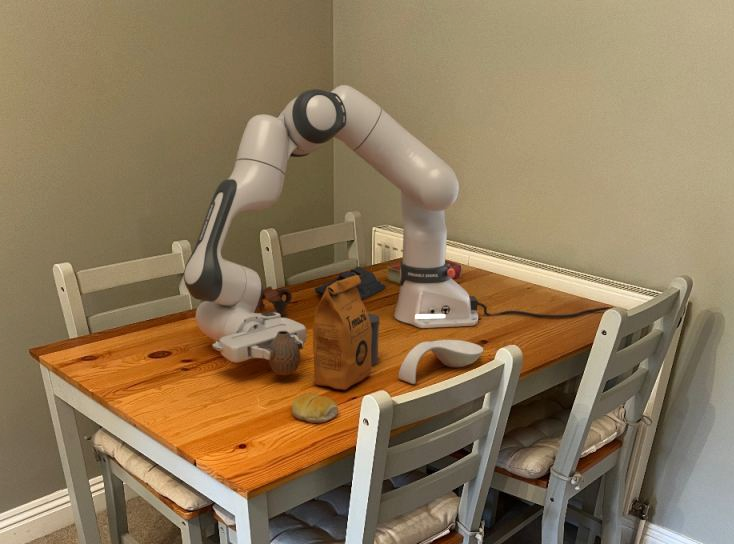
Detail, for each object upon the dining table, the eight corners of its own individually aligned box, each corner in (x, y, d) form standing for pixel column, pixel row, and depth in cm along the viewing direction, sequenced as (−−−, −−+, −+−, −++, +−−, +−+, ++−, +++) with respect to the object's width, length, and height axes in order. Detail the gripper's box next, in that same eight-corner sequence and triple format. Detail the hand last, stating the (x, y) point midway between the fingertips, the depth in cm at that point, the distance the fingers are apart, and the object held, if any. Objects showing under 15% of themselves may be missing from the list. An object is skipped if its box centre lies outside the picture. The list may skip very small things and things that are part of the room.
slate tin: (378, 355, 175) (379, 313, 169) (378, 367, 168) (379, 323, 163) (347, 355, 175) (347, 312, 169) (346, 367, 168) (346, 323, 163)
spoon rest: (451, 349, 179) (454, 320, 175) (491, 362, 172) (495, 332, 168) (386, 376, 164) (387, 345, 160) (427, 391, 158) (429, 359, 154)
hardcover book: (461, 277, 232) (462, 263, 230) (412, 289, 221) (413, 274, 219) (434, 269, 240) (435, 255, 238) (386, 280, 228) (386, 266, 226)
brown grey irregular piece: (264, 324, 193) (249, 295, 191) (254, 330, 202) (239, 302, 199) (302, 305, 197) (288, 276, 195) (291, 312, 206) (277, 284, 203)
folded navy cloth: (305, 296, 213) (305, 279, 210) (346, 278, 229) (346, 263, 226) (351, 305, 207) (351, 288, 204) (389, 286, 223) (390, 270, 220)
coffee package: (378, 378, 163) (381, 277, 151) (344, 396, 155) (344, 291, 143) (342, 367, 168) (342, 268, 156) (307, 384, 160) (304, 281, 148)
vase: (303, 366, 163) (302, 327, 158) (297, 378, 157) (296, 339, 153) (272, 364, 164) (270, 326, 159) (265, 376, 158) (263, 337, 153)
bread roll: (307, 402, 152) (307, 384, 150) (343, 413, 148) (343, 394, 146) (282, 416, 146) (281, 397, 144) (319, 428, 142) (319, 409, 140)
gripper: (206, 330, 158) (245, 348, 149) (282, 310, 170) (322, 326, 162) (209, 358, 161) (247, 377, 153) (283, 337, 173) (322, 353, 165)
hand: (286, 350), depth 157 cm, fingers closed on vase, 7 cm apart
